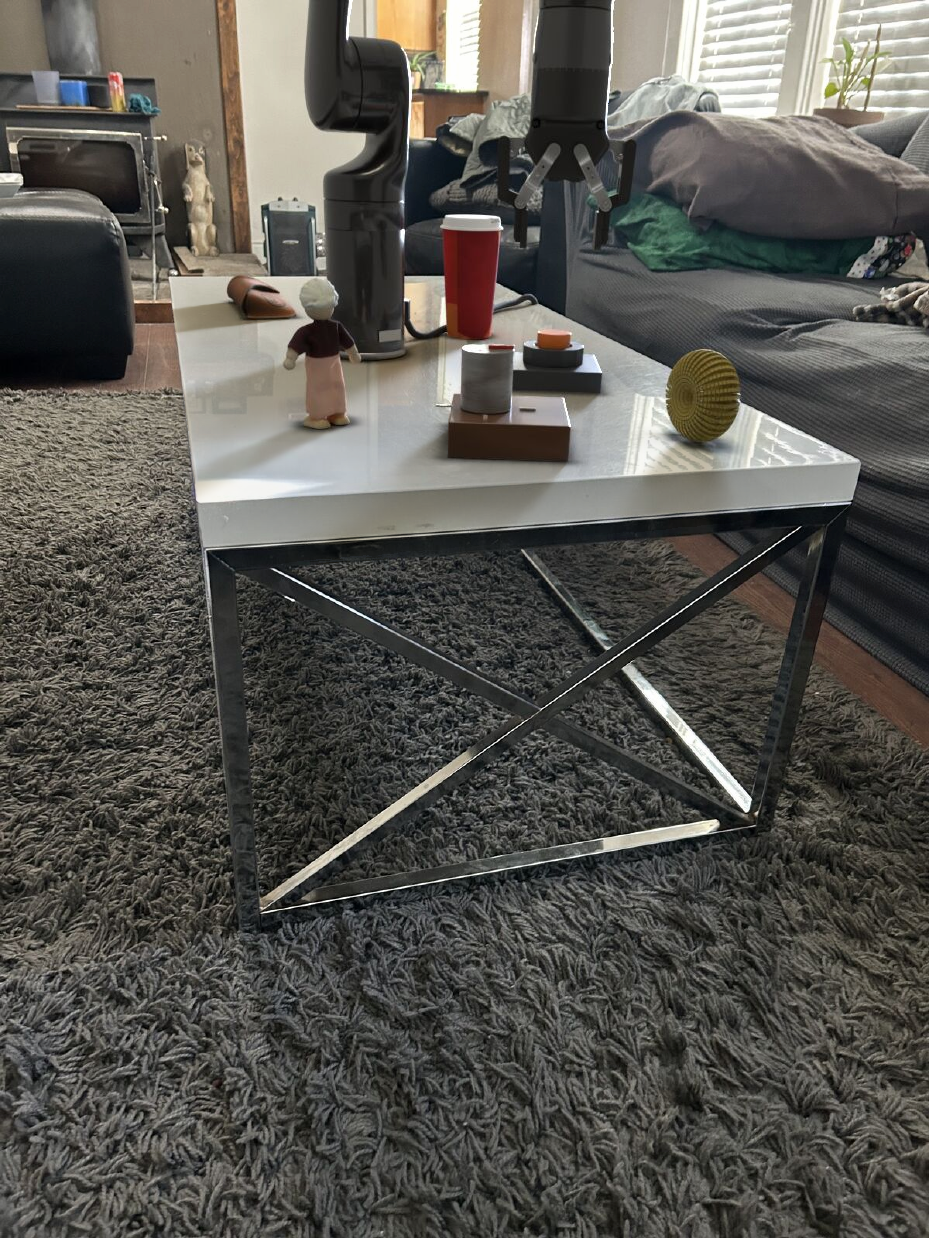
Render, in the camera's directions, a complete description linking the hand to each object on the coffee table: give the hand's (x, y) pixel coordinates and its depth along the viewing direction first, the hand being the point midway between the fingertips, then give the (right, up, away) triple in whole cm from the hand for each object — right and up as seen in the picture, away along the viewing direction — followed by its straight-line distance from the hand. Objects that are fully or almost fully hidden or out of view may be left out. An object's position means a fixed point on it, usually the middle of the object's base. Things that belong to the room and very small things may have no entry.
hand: (559, 248), depth 100 cm
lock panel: (-6, -23, -16) cm, 29 cm away
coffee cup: (-9, 0, +31) cm, 32 cm away
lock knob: (-8, -20, -17) cm, 28 cm away
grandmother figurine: (-23, -21, -12) cm, 33 cm away
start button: (0, -9, +5) cm, 10 cm away
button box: (0, -12, +6) cm, 14 cm away
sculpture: (+11, -23, -14) cm, 29 cm away
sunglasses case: (-41, +8, +46) cm, 62 cm away
